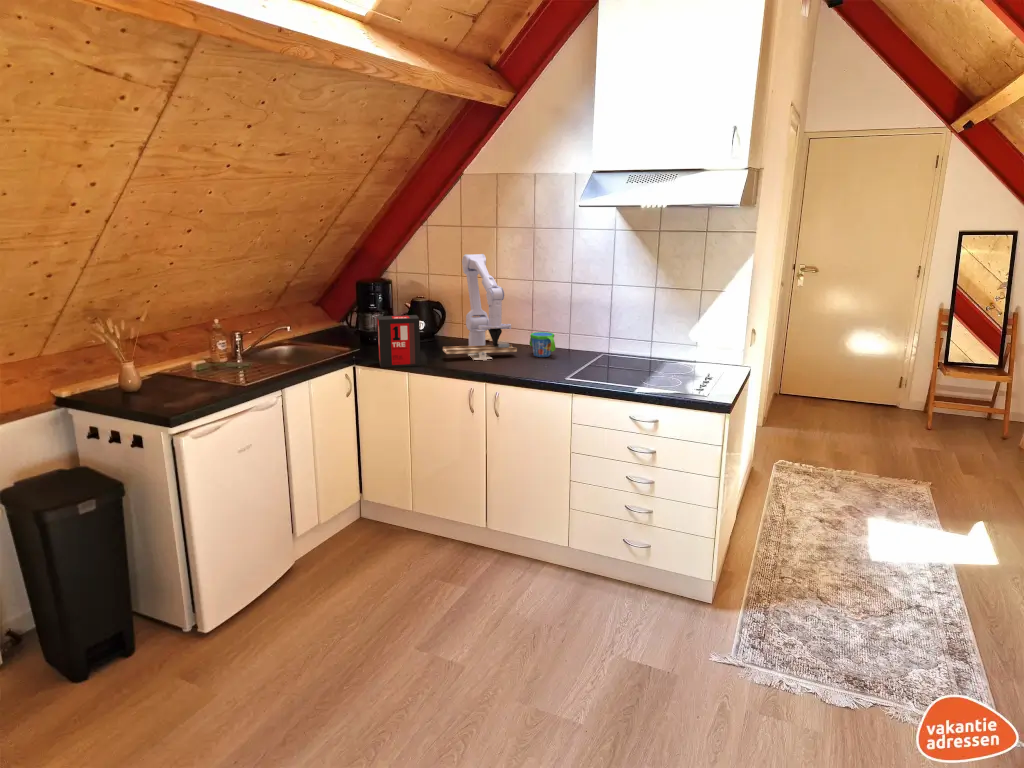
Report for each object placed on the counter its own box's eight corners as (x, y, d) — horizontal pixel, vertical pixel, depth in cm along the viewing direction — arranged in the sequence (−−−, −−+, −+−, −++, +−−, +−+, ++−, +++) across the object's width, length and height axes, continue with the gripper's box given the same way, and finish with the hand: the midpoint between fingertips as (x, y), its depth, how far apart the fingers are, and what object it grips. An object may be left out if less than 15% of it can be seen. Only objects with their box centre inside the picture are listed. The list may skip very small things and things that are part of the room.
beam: (446, 354, 286) (446, 349, 286) (442, 350, 293) (442, 346, 292) (516, 351, 296) (516, 347, 296) (511, 348, 303) (511, 344, 302)
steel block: (495, 347, 299) (495, 341, 298) (505, 347, 300) (505, 341, 300) (498, 349, 294) (498, 344, 294) (509, 349, 296) (509, 343, 295)
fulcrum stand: (468, 355, 299) (468, 347, 298) (485, 354, 301) (485, 347, 301) (474, 361, 289) (474, 352, 288) (492, 359, 291) (492, 351, 290)
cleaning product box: (380, 367, 276) (378, 319, 271) (379, 362, 284) (377, 316, 279) (420, 365, 280) (419, 318, 275) (417, 360, 288) (416, 315, 283)
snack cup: (522, 354, 304) (523, 332, 301) (542, 351, 309) (542, 330, 307) (541, 360, 291) (542, 337, 289) (561, 358, 296) (562, 335, 294)
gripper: (481, 317, 287) (481, 348, 290) (513, 315, 291) (513, 346, 295) (477, 314, 293) (477, 345, 297) (508, 313, 298) (508, 343, 301)
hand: (495, 345), depth 296 cm, fingers closed
